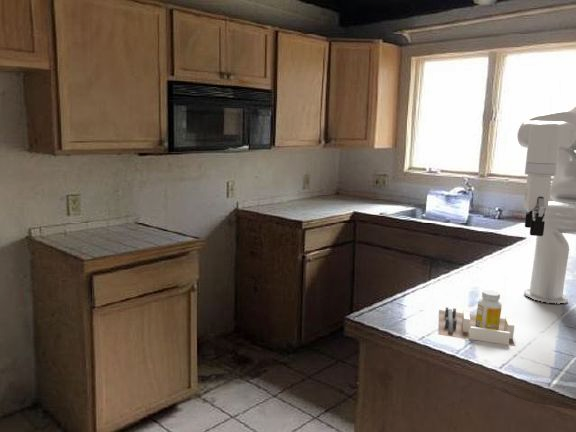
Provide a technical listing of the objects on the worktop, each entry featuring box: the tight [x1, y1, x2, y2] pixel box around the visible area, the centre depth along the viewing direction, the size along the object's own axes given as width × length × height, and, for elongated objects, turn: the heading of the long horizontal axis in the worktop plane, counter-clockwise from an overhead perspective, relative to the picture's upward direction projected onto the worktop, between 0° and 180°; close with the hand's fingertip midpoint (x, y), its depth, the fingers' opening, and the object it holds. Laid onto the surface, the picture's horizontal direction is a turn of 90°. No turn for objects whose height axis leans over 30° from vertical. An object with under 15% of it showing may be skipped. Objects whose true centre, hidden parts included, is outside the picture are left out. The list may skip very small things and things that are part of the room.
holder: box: [462, 310, 515, 346], centre depth 128 cm, size 10×12×4 cm
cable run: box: [444, 306, 457, 334], centre depth 135 cm, size 16×3×2 cm, turn 163°
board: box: [437, 309, 516, 347], centre depth 134 cm, size 19×18×1 cm
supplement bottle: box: [475, 289, 503, 330], centre depth 131 cm, size 6×6×10 cm
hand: (533, 231), depth 138 cm, fingers open, 9 cm apart
